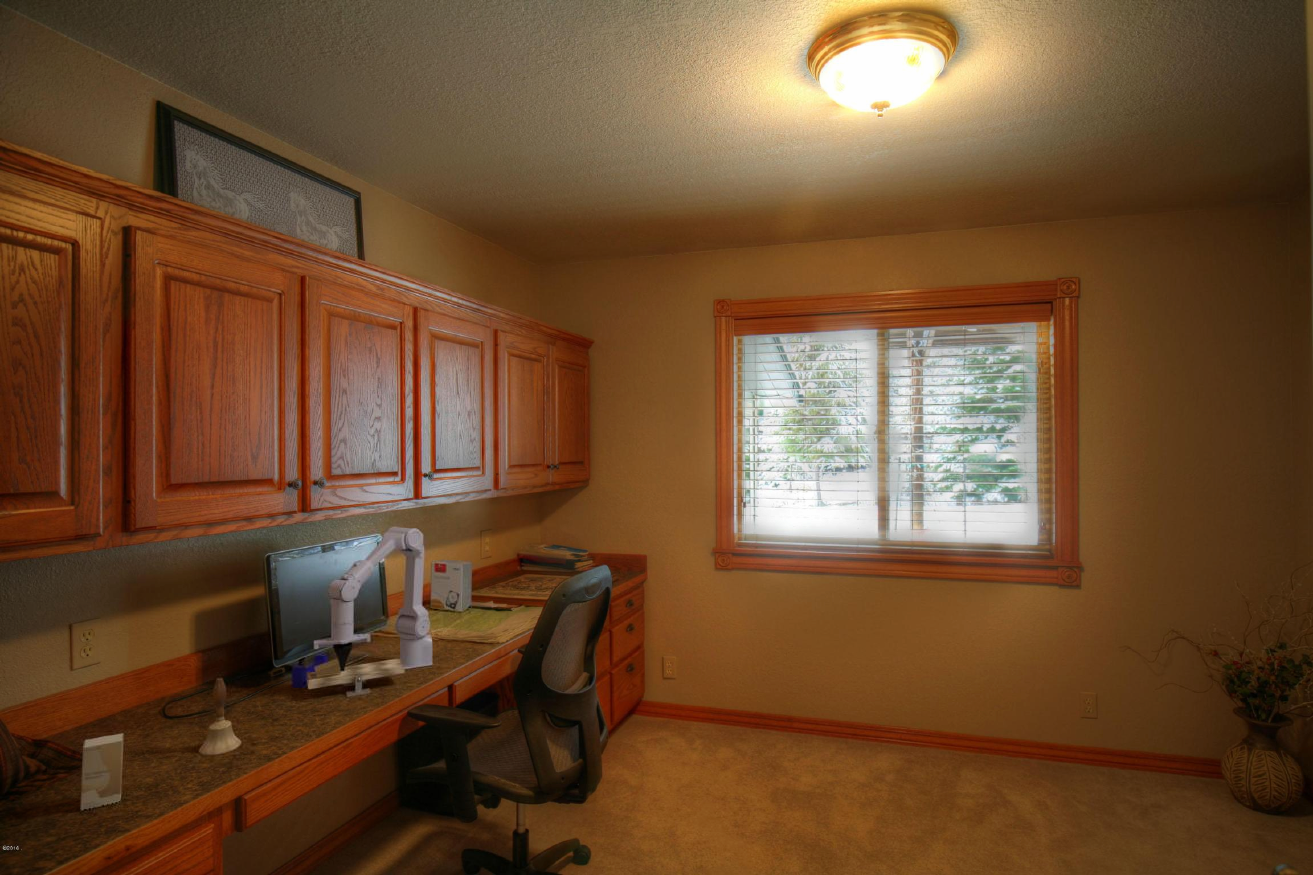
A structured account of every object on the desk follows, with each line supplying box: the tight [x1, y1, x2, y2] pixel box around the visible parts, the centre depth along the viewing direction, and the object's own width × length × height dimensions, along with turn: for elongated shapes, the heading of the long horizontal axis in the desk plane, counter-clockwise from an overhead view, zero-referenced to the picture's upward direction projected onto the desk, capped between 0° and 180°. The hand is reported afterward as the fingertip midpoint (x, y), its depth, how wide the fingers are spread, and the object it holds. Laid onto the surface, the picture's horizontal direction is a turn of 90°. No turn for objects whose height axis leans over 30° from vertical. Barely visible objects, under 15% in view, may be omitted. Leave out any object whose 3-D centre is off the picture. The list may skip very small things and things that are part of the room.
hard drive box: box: [430, 559, 473, 611], centre depth 290 cm, size 16×8×20 cm, turn 72°
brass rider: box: [314, 658, 341, 679], centre depth 194 cm, size 6×4×3 cm
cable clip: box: [291, 654, 328, 689], centre depth 205 cm, size 12×4×6 cm, turn 172°
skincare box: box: [79, 732, 125, 811], centre depth 136 cm, size 6×4×12 cm
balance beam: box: [306, 658, 406, 690], centre depth 198 cm, size 25×7×3 cm, turn 120°
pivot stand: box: [342, 675, 371, 698], centre depth 198 cm, size 6×11×5 cm, turn 30°
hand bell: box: [198, 677, 242, 756], centre depth 160 cm, size 8×8×16 cm
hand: (342, 670), depth 196 cm, fingers closed
